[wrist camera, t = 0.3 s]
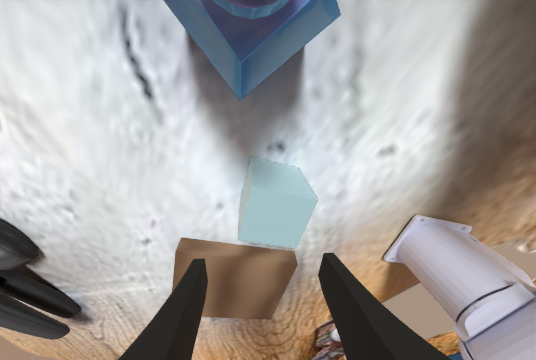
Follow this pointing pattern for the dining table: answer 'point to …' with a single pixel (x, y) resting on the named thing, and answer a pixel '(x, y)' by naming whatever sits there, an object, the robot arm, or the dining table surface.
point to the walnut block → (238, 277)
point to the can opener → (28, 291)
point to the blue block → (274, 204)
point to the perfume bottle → (252, 34)
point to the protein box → (456, 356)
